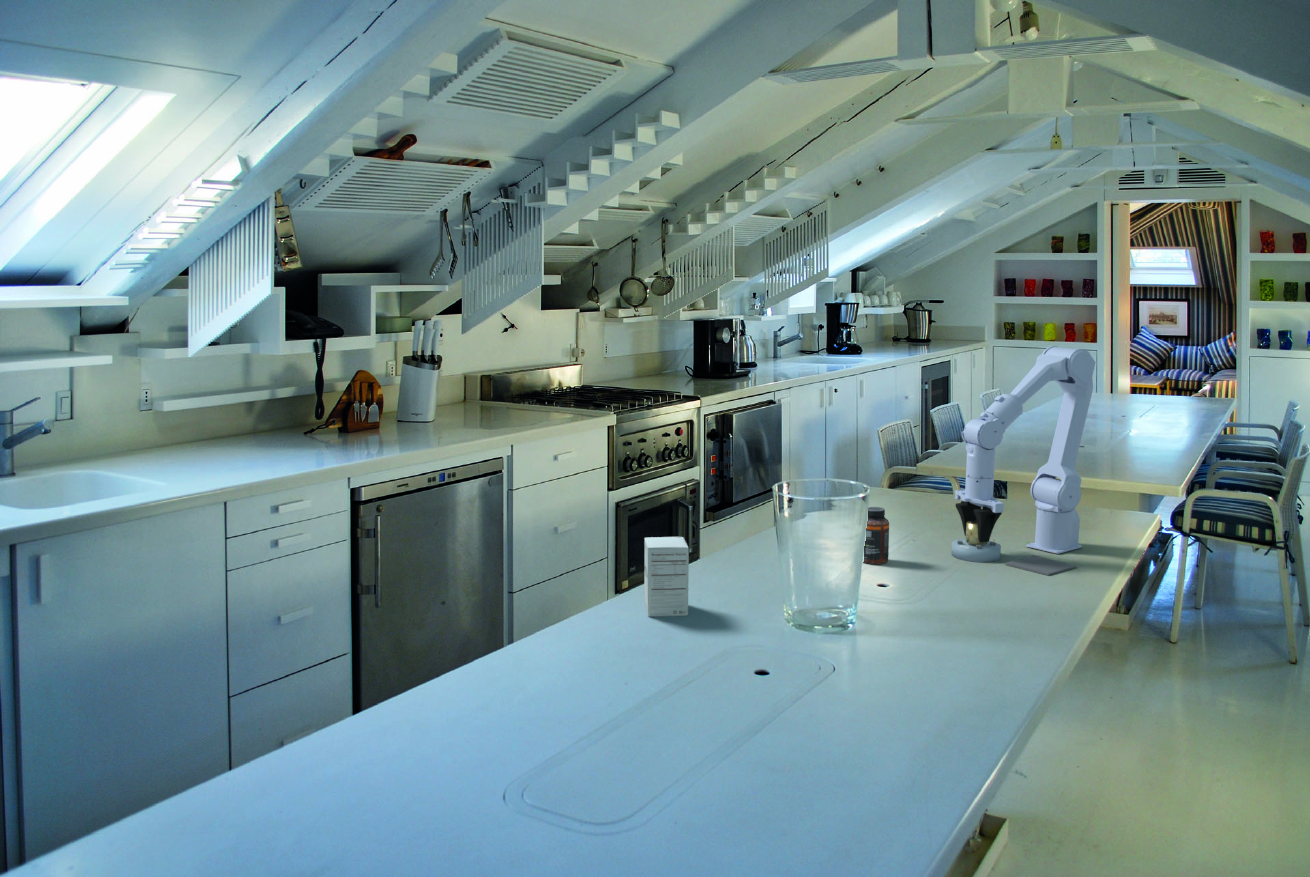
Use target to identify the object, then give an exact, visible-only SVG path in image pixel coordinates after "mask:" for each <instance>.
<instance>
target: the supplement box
mask: <svg viewBox="0 0 1310 877" xmlns="http://www.w3.org/2000/svg"><path fill="white" fill-rule="evenodd" d="M689 550H690V548H689V546H688V543H687V541H686V540H685V537H684V536H661V537H659V536H657V537H656V536H655V537H653V536H651V537H644V570H643V571H644V573H643V574H644V577H643V578H644V589H643V590H644V592H643V594H644V600H643V602H644V606H645V609H646V613H647V617H656V618H657V617H686V616H689V570H690V569H689V568H690V566H689V562H690V561H689V560H690V559H689V558H690V557H689Z"/></svg>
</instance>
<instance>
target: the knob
mask: <svg viewBox="0 0 1310 877" xmlns="http://www.w3.org/2000/svg"><path fill="white" fill-rule="evenodd" d="M965 539H966V542H967V543H969V544H975V545H984V544H987V543H988V542H979V540H978V525H977V521H976V520H973V521H967V523H966V536H965Z"/></svg>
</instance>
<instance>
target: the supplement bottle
mask: <svg viewBox="0 0 1310 877" xmlns="http://www.w3.org/2000/svg"><path fill="white" fill-rule="evenodd" d="M867 508H868V507H867ZM885 513H886V510H885V508H884V507H880V506H869V508H868V521H867V528H866V541H865V546H864V562H863V563H864V564H867V565H868V564H870V565H885V563H888V561H889V555H890V554H889V547H890V545H889V544H890V522H889V519H887V518H886V516H885V515H886V514H885Z"/></svg>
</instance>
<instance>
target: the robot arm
mask: <svg viewBox="0 0 1310 877" xmlns="http://www.w3.org/2000/svg"><path fill="white" fill-rule="evenodd" d="M1095 367H1096V361H1095V359H1094V358H1093V356H1092V355H1091V353H1090V352H1089V351H1088V350H1087V349H1085V348H1073V347H1072V348H1070V347H1061V346H1060V347H1059V346H1057V345H1056V346H1055V345H1051V346H1048V347H1046V349H1044V350H1043V352H1042V353H1041V354H1039V355H1038V356H1037V357H1036V362H1035V365H1034V366H1033V367H1032V368H1031V369H1030V370H1029V371H1028V373H1027V374H1025V376H1024V377H1023V378H1022V380H1021V381H1019V383H1018V384H1017V385H1016V386H1015V388H1013V390H1012V391H1011V392H1010V393H1002V394H1001V395H997V396H996V397H995V398H994V402H992V403H991V404H990V406H989V407H987V408H986V409H985V410H984V411H982V412H981V413H980V414H979V416H978V418H974V419H973V418H972V419H970V420H969V421H968V422H967V423H966V424H965V426H964V428H963V431H961V437H962V438H961V439H962V441H963V442H964V444H965V451H966V462H965V463H966V465H965V466H966V467H965V485H964V486H965V487H964V488H965V489H956V490H955V491H954V500H957V501H960V502H958V503H955V508H956V510H957V512H958V515H959V517H960V519H961V520H960V521H961V524H962V529H963V533H964V537H966V523H967V521H973V520H976V521H977V525H978V540H979V542H989V541H990V539H991V536H992V533H993V530H994V528H995V526H996V523H997V521H998V519H999V518H1000V517H1001V516H1002V514H1003V513H1004V510H1005V509H1004V507H1005V503H1004V502H1001V501H1000V500H998V499H997V498H995V496H994V486H995V484H994V483H995V482H994V481H995V463H996V447H998V446H999V445H1000V444H1001V443H1002V442H1003V441H1002V440H1003V438H1004V434H1005V433H1006V430H1007V429H1008V428H1009V427H1010V426H1011V425H1012V424H1013V423H1014V422H1015V421H1016V420H1017V419H1018V418H1019V417H1021V415H1022V413H1023V411H1024V410H1023V408H1024V407H1023V406H1024V404H1025V403H1026V402H1028V400H1030V399H1031V398H1032V397H1033V396H1034V395H1035V394H1036V393H1038V391H1040V390H1041V389H1043V387H1044V386H1046V385H1047V384H1048V383H1049V382H1054V381H1055V382H1056V383H1058V385H1059V387H1060V388H1061V390H1062V392H1063V397H1062V401H1061V406H1060V409H1059V415H1058V418H1057V422H1056V427H1055V431H1054V436H1053V440H1052V444H1051V448H1050V452H1049V456H1048V460H1047V462H1046V463H1045V464H1043V465H1042V466H1041V467H1040V468H1038V470H1037V474H1036V476H1035V478H1034V479H1033V480H1032V483H1031V485H1030V491H1029V493H1030V497H1031V498H1032V500H1033V501H1035V503H1034V505H1035V506H1036V515H1035V516H1036V520H1035V532H1034V534H1035V535H1034V542H1030V543H1028V544H1027V543H1026V545H1025V547H1027V548H1031V549H1036V550H1040V551H1044V552H1047V553H1048V552H1049V553H1053V554H1058V555H1060V554H1063V553H1066V552H1070V551H1073V550H1074V551H1075V550H1077V549H1081V548H1083V547H1082V545H1081V544H1079V539H1080V538H1079V537H1080V522H1081V520H1080V518H1081V517H1080V516H1079V513H1078V511H1077V510H1076V509H1075V508H1077V506H1079V504H1080V502H1081V499H1082V491H1081V483H1082V478H1081V475H1080V474H1079V473H1078V470H1077V469H1076V468H1075V466H1076V463H1077V458H1078V454H1079V449H1080V445H1081V441H1082V437H1083V433H1084V429H1085V425H1086V420H1087V415H1088V412H1089V409H1090V408H1089V407H1090V404H1091V399H1092V395H1093V391H1094V383H1093V375H1094V370H1095Z"/></svg>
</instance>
